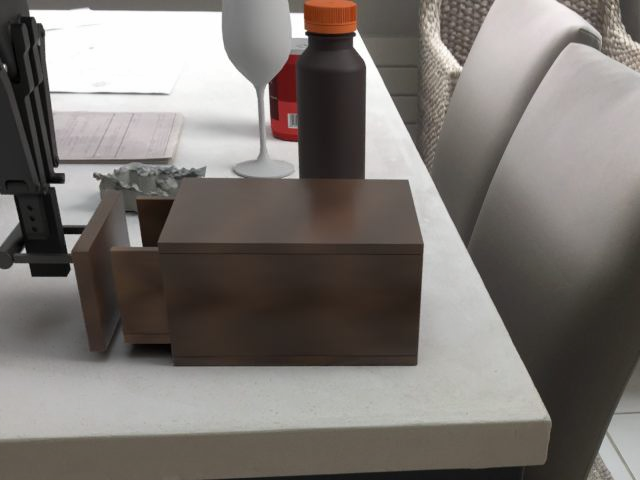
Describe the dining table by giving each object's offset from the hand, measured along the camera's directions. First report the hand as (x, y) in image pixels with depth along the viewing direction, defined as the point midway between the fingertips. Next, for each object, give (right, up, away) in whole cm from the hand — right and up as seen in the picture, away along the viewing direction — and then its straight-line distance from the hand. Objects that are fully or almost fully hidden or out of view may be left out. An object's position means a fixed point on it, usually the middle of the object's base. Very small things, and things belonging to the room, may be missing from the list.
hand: (51, 272), depth 70 cm
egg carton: (+2, +14, +26) cm, 29 cm away
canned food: (+15, +32, +50) cm, 61 cm away
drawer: (+9, -3, +2) cm, 10 cm away
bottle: (+21, +12, +24) cm, 34 cm away
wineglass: (+12, +22, +37) cm, 44 cm away
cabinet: (+19, -3, +4) cm, 20 cm away
